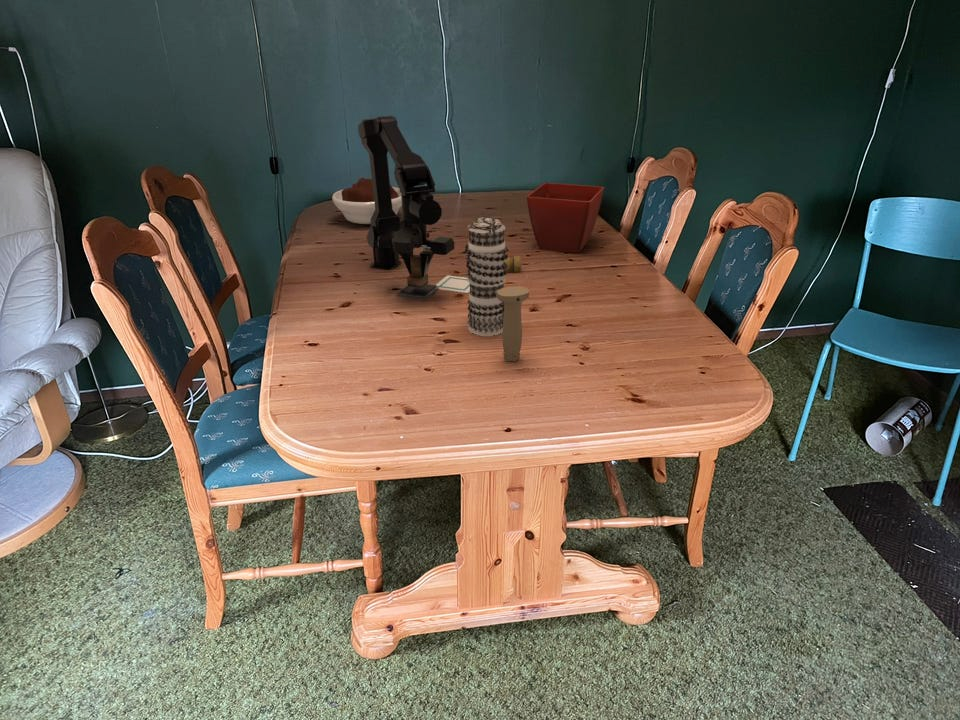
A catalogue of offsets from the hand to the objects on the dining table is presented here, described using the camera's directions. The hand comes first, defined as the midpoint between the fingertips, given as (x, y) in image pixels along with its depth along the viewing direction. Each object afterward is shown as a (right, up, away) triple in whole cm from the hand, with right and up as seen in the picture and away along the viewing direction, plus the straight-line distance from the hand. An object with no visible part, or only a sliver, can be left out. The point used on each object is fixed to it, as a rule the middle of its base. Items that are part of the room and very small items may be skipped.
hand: (417, 275), depth 163 cm
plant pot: (+42, +14, +36) cm, 57 cm away
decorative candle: (+17, -15, -17) cm, 28 cm away
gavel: (+22, +7, +24) cm, 33 cm away
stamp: (0, -2, +1) cm, 2 cm away
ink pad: (0, -4, +2) cm, 5 cm away
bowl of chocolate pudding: (-22, +27, +62) cm, 71 cm away
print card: (+10, -1, +7) cm, 12 cm away
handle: (+22, -21, -30) cm, 43 cm away
